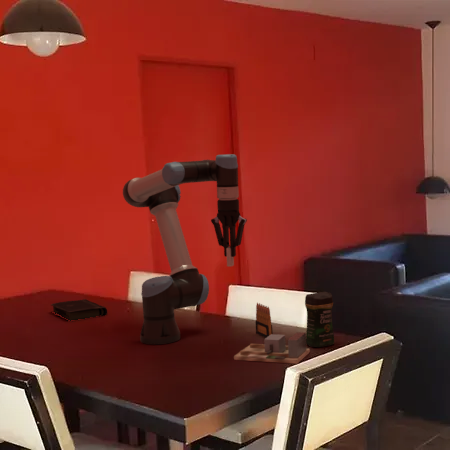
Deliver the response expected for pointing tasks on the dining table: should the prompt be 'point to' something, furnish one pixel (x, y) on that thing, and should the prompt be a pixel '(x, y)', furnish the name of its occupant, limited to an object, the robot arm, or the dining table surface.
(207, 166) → the robot arm
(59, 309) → the diary
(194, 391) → the dining table surface
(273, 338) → the grey rectangular block
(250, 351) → the board
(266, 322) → the ammunition clip
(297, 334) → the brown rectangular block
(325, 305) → the coffee jar
